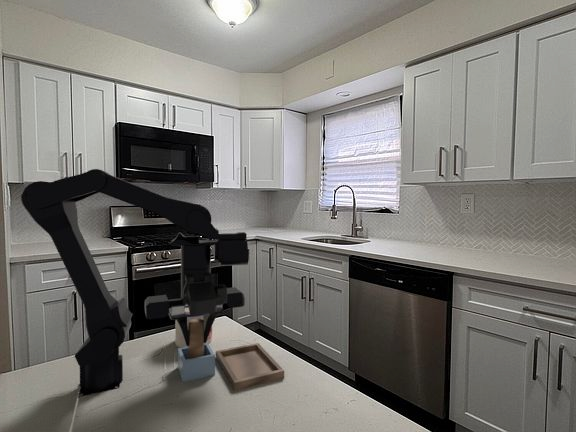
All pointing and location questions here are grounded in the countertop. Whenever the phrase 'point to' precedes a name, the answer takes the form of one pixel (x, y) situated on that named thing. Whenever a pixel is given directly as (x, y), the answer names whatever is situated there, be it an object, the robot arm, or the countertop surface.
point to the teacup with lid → (178, 333)
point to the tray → (248, 366)
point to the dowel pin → (196, 338)
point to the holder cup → (196, 364)
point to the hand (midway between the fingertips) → (196, 343)
